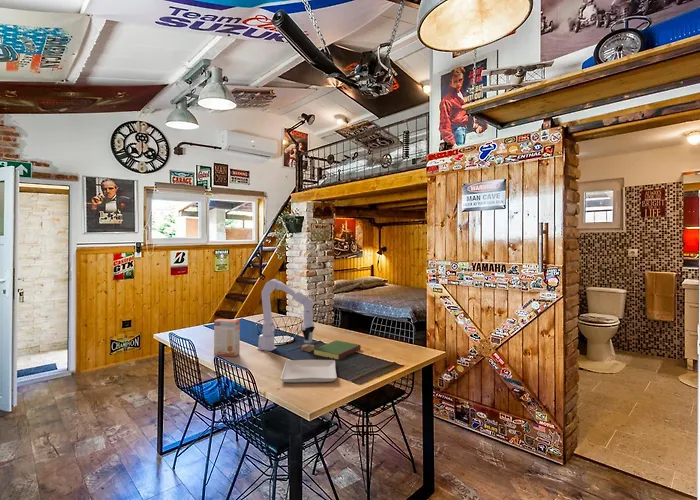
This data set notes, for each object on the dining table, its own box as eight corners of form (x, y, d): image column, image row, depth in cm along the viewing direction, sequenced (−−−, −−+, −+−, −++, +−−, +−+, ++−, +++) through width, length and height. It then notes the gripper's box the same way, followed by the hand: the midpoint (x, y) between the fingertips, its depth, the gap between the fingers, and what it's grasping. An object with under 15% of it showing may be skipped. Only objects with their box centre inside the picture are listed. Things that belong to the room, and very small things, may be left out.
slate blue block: (303, 342, 237) (304, 333, 237) (306, 340, 241) (306, 331, 241) (309, 343, 236) (309, 333, 236) (312, 341, 240) (312, 332, 239)
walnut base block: (301, 351, 237) (301, 346, 237) (306, 348, 242) (306, 344, 242) (309, 352, 235) (309, 347, 235) (314, 349, 240) (314, 345, 240)
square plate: (285, 366, 208) (285, 359, 208) (335, 366, 210) (335, 359, 210) (279, 385, 181) (279, 377, 181) (336, 385, 183) (337, 377, 183)
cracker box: (240, 354, 228) (240, 319, 227) (234, 357, 222) (234, 321, 222) (219, 352, 232) (219, 318, 231) (213, 354, 226) (213, 320, 225)
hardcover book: (339, 360, 220) (339, 354, 220) (313, 355, 230) (313, 349, 230) (361, 350, 241) (361, 344, 241) (336, 345, 251) (336, 340, 251)
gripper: (309, 320, 230) (308, 342, 230) (318, 315, 244) (318, 336, 244) (298, 319, 232) (298, 341, 232) (308, 315, 246) (308, 335, 246)
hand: (308, 339), depth 238 cm, fingers closed on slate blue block, 4 cm apart
